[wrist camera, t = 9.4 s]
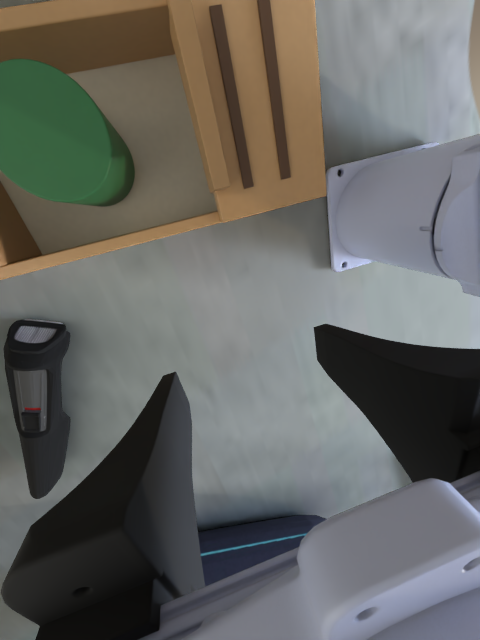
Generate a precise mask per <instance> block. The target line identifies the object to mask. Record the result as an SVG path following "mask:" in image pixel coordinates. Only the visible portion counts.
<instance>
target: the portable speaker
mask: <svg viewBox="0 0 480 640" xmlns="http://www.w3.org/2000/svg"><path fill="white" fill-rule="evenodd" d="M325 520H326V519H325V518H322V517H319V516H316V515H296V516H290V517H284V518H278V519H273V520H267V521H261V522H255V523H249V524H243V525H237V526H231V527H225V528H219V529H214V530H208V531H202V532H198V537H199V545H200V553H201V561H202V568H203V575H204V582H205V586H208V585H210V584H213V583H215V582H217V581H220V580H222V579H224V578H227V577H229V576H231V575H234V574H236V573H239V572H241V571H243V570H246V569H248V568H250V567H253V566H255V565H258V564H260V563H262V562H265V561H267V560H269V559H272V558H274V557H276V556H279V555H281V554H284V553H286V552H288V551H291V550H293V549H295V548H298V547H299V546H300V543H301V540H302V539H303V538H304V537H305V536H306V534H307V533H308V532H309V531H310V530H311V529H312V528H313V527H314V526H316V525H318V524H320V523H321V522H323V521H325Z"/></svg>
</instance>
